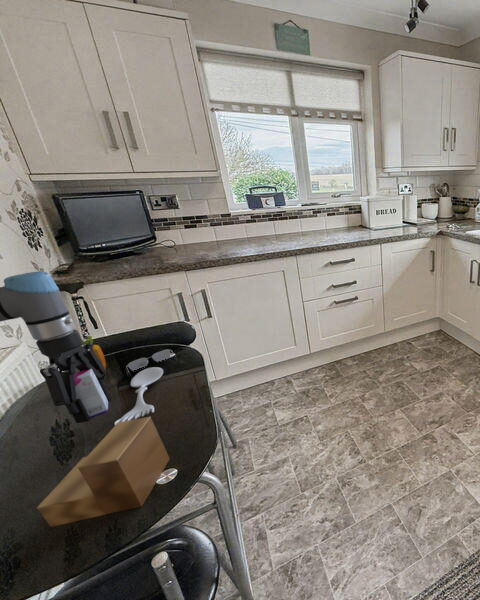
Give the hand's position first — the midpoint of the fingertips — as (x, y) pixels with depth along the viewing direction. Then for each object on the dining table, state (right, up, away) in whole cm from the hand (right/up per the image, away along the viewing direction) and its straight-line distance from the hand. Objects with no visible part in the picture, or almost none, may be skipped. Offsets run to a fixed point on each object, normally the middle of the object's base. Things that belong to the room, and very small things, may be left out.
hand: (94, 411), depth 88 cm
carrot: (-25, +3, +30) cm, 39 cm away
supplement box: (0, 0, 0) cm, 0 cm away
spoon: (+3, 0, +13) cm, 14 cm away
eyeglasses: (-7, +5, +31) cm, 32 cm away
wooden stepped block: (+22, -10, -19) cm, 31 cm away
